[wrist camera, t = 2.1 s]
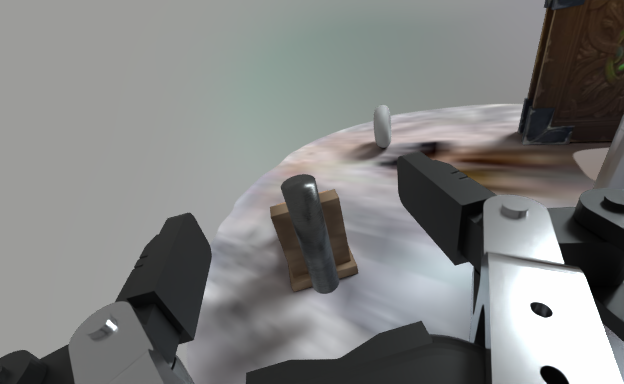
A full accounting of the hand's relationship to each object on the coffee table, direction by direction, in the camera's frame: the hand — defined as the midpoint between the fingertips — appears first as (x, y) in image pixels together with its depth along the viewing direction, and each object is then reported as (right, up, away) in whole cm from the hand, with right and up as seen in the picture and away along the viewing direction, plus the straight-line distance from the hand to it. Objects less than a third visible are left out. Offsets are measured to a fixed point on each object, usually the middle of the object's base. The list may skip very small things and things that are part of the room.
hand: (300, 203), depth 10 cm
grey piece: (+1, -6, +26) cm, 26 cm away
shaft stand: (+1, -7, +33) cm, 34 cm away
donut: (+19, +12, +56) cm, 60 cm away
